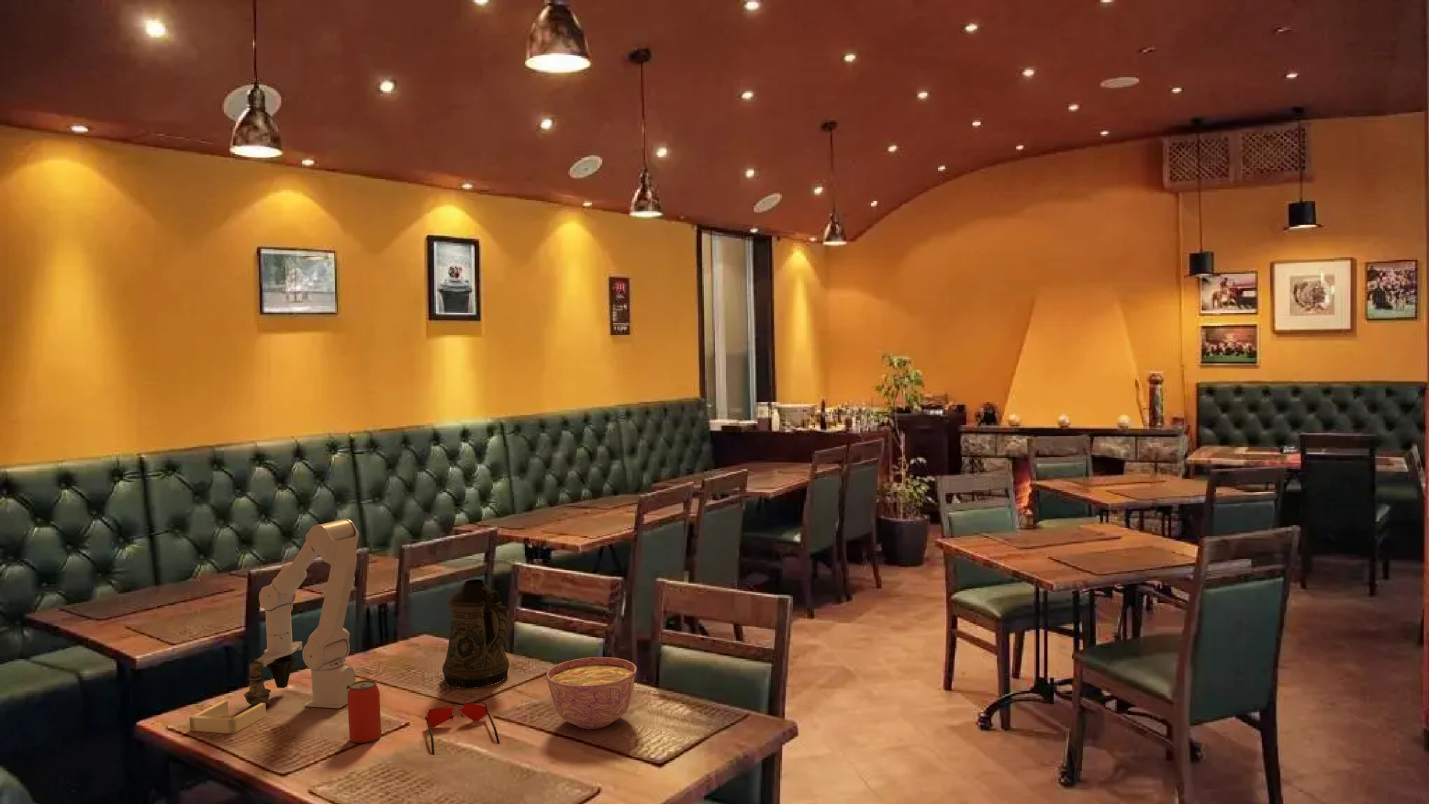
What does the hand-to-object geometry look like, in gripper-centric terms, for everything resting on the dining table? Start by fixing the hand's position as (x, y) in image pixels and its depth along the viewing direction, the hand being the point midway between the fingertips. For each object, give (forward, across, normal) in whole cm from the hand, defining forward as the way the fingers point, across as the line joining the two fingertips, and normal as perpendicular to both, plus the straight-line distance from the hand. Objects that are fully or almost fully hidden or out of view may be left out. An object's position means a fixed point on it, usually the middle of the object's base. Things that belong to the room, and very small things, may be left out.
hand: (282, 687), depth 251 cm
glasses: (+2, +17, +57) cm, 60 cm away
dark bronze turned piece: (+2, +9, 0) cm, 9 cm away
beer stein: (+2, -19, +44) cm, 48 cm away
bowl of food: (+2, +5, +83) cm, 83 cm away
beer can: (+2, +22, +37) cm, 43 cm away
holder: (+2, +19, 0) cm, 19 cm away
